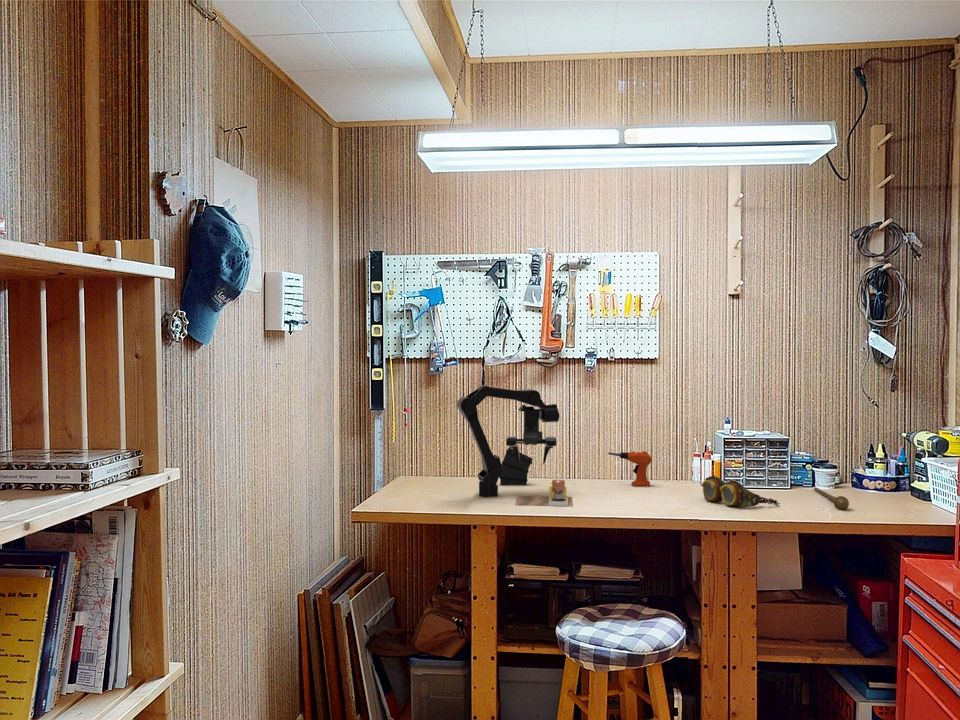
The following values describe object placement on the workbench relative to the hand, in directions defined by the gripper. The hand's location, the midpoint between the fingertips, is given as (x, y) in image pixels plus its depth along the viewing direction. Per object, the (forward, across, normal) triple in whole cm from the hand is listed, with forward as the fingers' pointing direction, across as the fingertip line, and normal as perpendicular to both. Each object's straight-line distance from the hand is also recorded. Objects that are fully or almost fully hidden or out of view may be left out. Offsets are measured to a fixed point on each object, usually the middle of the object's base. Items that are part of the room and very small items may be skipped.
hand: (531, 464), depth 265 cm
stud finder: (+11, +10, -10) cm, 18 cm away
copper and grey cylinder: (+11, +10, -18) cm, 23 cm away
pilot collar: (+11, +10, -18) cm, 23 cm away
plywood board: (+12, +5, -14) cm, 19 cm away
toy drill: (+12, +39, +24) cm, 47 cm away
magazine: (+12, -7, +22) cm, 26 cm away
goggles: (+13, +75, -5) cm, 76 cm away
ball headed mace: (+13, +108, +2) cm, 109 cm away
